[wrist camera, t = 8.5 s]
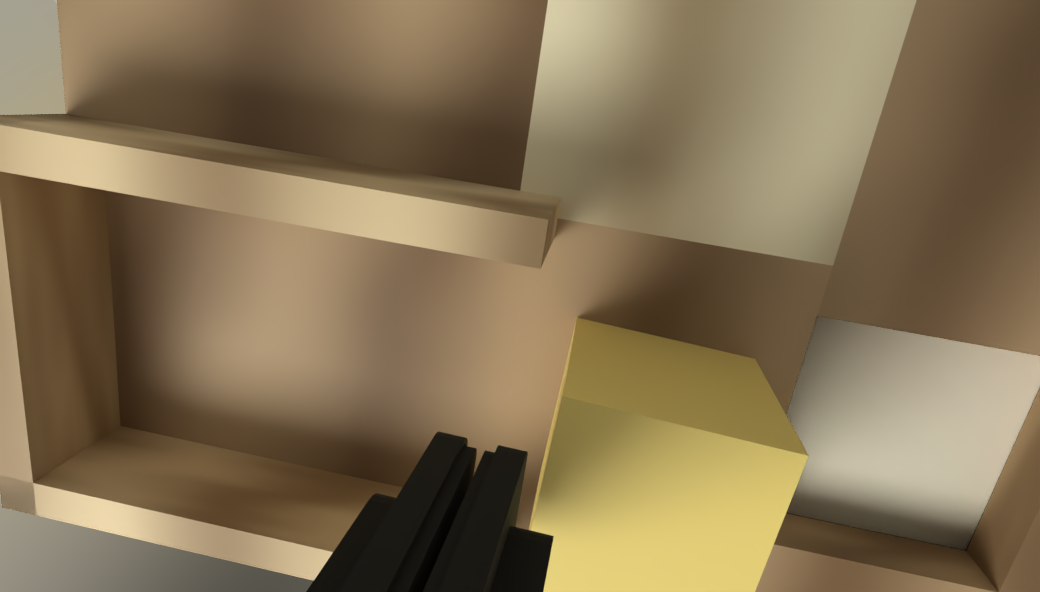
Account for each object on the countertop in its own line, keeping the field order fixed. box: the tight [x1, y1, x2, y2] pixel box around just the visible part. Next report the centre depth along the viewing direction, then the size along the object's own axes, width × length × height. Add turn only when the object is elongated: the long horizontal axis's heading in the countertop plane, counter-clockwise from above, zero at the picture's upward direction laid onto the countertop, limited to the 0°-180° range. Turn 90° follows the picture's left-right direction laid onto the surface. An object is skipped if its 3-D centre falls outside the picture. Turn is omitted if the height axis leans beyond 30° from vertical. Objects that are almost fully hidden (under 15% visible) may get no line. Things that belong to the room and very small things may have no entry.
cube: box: [529, 318, 808, 592], centre depth 14 cm, size 4×4×4 cm
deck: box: [57, 0, 1040, 592], centre depth 16 cm, size 29×17×2 cm, turn 82°
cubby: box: [0, 114, 561, 581], centre depth 16 cm, size 13×10×3 cm
